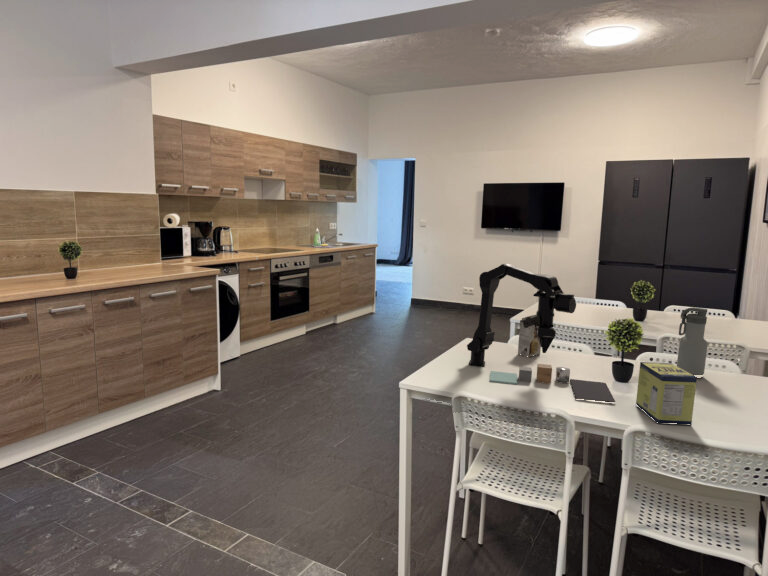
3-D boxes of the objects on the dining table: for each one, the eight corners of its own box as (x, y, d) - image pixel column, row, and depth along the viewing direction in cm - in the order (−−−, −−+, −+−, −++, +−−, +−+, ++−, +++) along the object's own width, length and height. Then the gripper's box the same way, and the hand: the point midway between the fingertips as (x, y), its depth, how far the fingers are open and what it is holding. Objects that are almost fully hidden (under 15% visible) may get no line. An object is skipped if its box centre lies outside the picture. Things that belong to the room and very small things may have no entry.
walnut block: (536, 378, 196) (537, 363, 195) (549, 379, 195) (551, 364, 194) (537, 382, 191) (538, 367, 190) (550, 383, 190) (552, 368, 189)
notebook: (569, 382, 194) (575, 401, 173) (570, 378, 193) (575, 397, 173) (605, 386, 190) (615, 406, 170) (605, 382, 190) (615, 402, 170)
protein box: (666, 407, 169) (671, 362, 167) (692, 426, 154) (698, 377, 152) (634, 405, 170) (639, 361, 168) (657, 424, 154) (663, 375, 152)
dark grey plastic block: (518, 377, 196) (519, 366, 196) (530, 378, 195) (531, 367, 195) (518, 381, 192) (519, 369, 192) (531, 382, 191) (531, 371, 190)
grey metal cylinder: (554, 378, 196) (555, 366, 196) (568, 380, 195) (569, 367, 195) (555, 382, 192) (557, 369, 191) (569, 384, 190) (570, 371, 190)
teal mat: (490, 372, 202) (490, 370, 202) (516, 374, 199) (516, 373, 199) (489, 381, 190) (489, 380, 190) (517, 384, 188) (517, 382, 188)
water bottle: (671, 374, 207) (678, 307, 203) (679, 370, 213) (687, 305, 209) (698, 380, 199) (707, 311, 196) (706, 376, 206) (715, 309, 202)
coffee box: (528, 351, 236) (531, 317, 234) (540, 354, 231) (543, 320, 229) (516, 354, 230) (519, 319, 228) (529, 357, 225) (531, 322, 223)
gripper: (522, 304, 199) (520, 342, 202) (524, 312, 181) (522, 354, 183) (552, 305, 197) (549, 344, 199) (557, 314, 179) (554, 356, 181)
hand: (543, 349), depth 191 cm, fingers open, 9 cm apart
